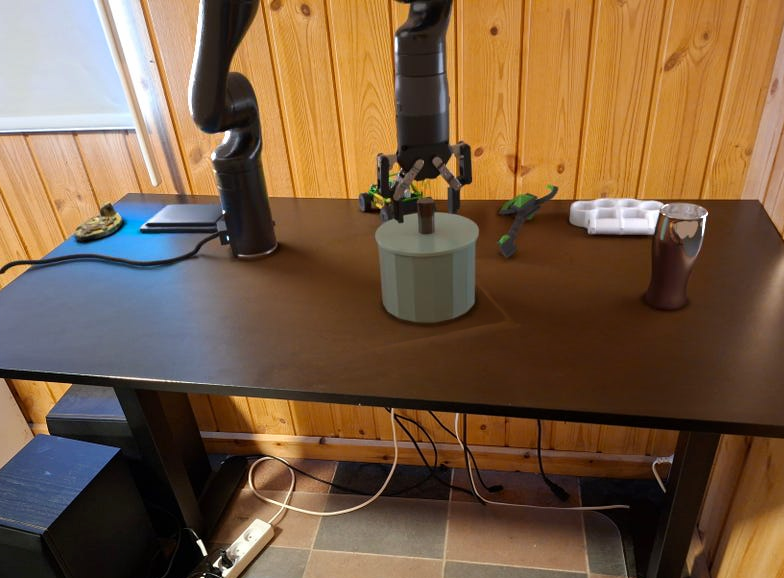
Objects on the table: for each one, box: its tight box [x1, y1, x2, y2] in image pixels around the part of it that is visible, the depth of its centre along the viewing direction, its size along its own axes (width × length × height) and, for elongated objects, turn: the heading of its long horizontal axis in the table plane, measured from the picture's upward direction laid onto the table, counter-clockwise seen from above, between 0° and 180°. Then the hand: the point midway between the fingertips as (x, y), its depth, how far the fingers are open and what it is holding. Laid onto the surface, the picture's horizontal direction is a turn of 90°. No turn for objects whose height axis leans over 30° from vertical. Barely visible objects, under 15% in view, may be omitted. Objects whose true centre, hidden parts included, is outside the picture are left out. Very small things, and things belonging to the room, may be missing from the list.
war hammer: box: [496, 184, 559, 259], centre depth 127 cm, size 6×13×30 cm
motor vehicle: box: [358, 172, 438, 225], centre depth 136 cm, size 12×19×11 cm, turn 23°
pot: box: [377, 241, 476, 323], centre depth 103 cm, size 15×15×12 cm
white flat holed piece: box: [568, 197, 665, 236], centre depth 126 cm, size 3×18×15 cm
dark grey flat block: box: [139, 203, 224, 233], centre depth 146 cm, size 20×2×15 cm
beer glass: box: [644, 202, 709, 311], centre depth 97 cm, size 7×7×15 cm
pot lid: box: [374, 197, 480, 257], centre depth 98 cm, size 16×16×6 cm
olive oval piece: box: [74, 201, 124, 241], centre depth 144 cm, size 9×5×15 cm
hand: (426, 217), depth 98 cm, fingers open, 8 cm apart
